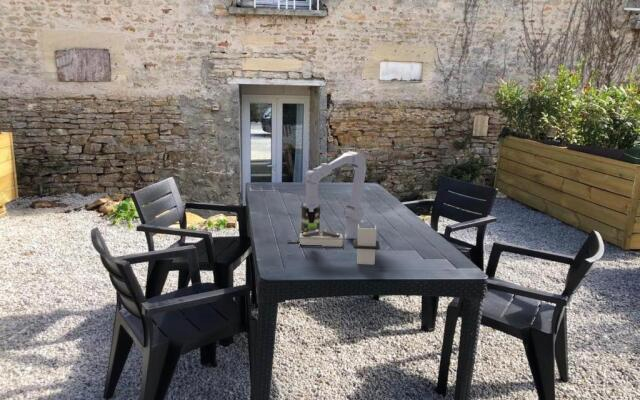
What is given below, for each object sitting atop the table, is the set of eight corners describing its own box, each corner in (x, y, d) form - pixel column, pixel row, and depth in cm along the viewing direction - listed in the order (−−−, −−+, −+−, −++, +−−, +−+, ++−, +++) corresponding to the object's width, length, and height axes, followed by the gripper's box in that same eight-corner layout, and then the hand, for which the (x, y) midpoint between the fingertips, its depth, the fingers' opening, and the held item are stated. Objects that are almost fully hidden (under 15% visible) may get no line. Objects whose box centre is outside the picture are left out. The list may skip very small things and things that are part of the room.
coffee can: (322, 233, 247) (322, 207, 244) (303, 234, 244) (303, 208, 241) (317, 228, 257) (317, 203, 254) (298, 229, 254) (299, 204, 251)
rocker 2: (338, 236, 232) (339, 233, 232) (338, 238, 228) (339, 235, 228) (322, 232, 232) (323, 229, 232) (322, 234, 228) (323, 231, 228)
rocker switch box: (341, 240, 235) (341, 233, 235) (342, 246, 227) (342, 238, 226) (288, 239, 235) (288, 232, 234) (287, 245, 227) (287, 237, 226)
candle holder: (391, 254, 218) (393, 220, 214) (396, 273, 194) (398, 235, 191) (337, 252, 219) (338, 218, 216) (336, 270, 196) (337, 233, 192)
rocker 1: (319, 232, 232) (318, 228, 232) (319, 234, 228) (318, 231, 228) (303, 235, 232) (303, 232, 232) (303, 238, 228) (302, 234, 228)
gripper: (303, 192, 233) (303, 218, 236) (302, 198, 219) (302, 226, 222) (318, 192, 233) (317, 219, 236) (318, 198, 219) (317, 226, 222)
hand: (311, 222), depth 229 cm, fingers closed
